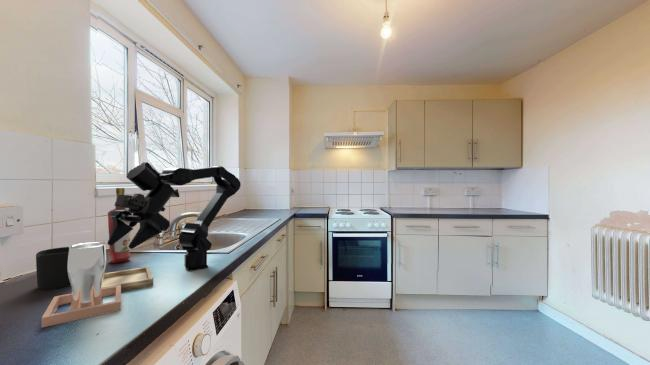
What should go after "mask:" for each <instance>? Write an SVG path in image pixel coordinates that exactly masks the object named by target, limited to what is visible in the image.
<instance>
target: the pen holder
mask: <svg viewBox="0 0 650 365" xmlns="http://www.w3.org/2000/svg"><path fill="white" fill-rule="evenodd" d="M69 247H70V246H62V247H54V248H49V249H43V250H39V251H37V253H36V255H35V263H36V264H35V266H36V268H35V269H36V283H37V286H36V287H37V288H38V289H39V290H45V291H46V290H47V291H49V290H56V289H61V288H65V287H71V286H70V282H69V277H68V270H67V263H68V253H69Z"/></svg>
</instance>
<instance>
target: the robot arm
mask: <svg viewBox="0 0 650 365" xmlns="http://www.w3.org/2000/svg"><path fill="white" fill-rule="evenodd" d="M125 177H126V179H128V180H129V181H130V182H131V183H132V184H133V185H134V186H136V187H137V188H139V189H140V190H141V191H143V192H147V191H149V192H148V193H147V194H146V195H144V194H142V193H134V194H133V195H130V194H124V195H118V197H117V196H116V198H117V200H116V199H115V203H114V206H115V207H116V206H117V207H119V206H120V207H124V208H126V209H128V211H129V212H130V213H129V212H128V211H126V210H115V211H114V212H113V213H112V214H111V215H110V217H112V218H111V220H112V221H113V223H114V227H113V230H112V233H111V235H110V238H109V237H108V240H107V245H108V246H109V245H110V246H111V245H113V244H114V243H116V242H117V241H118V240H120V239H121V238H122V237H123V236H125V235H126V234H127V233H129V232H130V231H133V230H134V227H136V226H137V224H138V223H139V229H138V230H137V232H136V233H135V235H134V237H133V238H132V240H130V245H129V246H128V247H129V248H130V250H133V249H135V248H136V247H138V246H139V245H142V244H143V243H144V242H146V241H148V240H150V239H151V238H153V237H155V236H156V235H159V234H162V233H163V232H167V231H168V229H169V228H170V226H171V222H170V220H168V219H167V218H166V217H165V216H164V215H162V214H161V213H160V212H165V210H166V208H165V206H166V204H167V203H168V202H169V201H170V200H171V198H179V197H180V193H179V188H173V186H186V185H188V184H190V183H192V182H193V181H195V180H202V179H208V178H213V182H214V183H215V184H216V187H215V188H216V191H215V194H213V196H212V198H211V199H210V201H209V202H208V203H207V205H206V206H205V208H204V209H203V210H202V212H201V213H200V214H199V216H198V218H196V220H195V221H194V222H187V223H185V225H184V227H183V228H182V229H181V230H179V233H180V234H179V236H178V242H179V244H180V245H181V248H182V250H183V251H186V254H185V253H184V258H183V259H184V260H183V261H184V263H183V265H184V267H185V268H186V270H187V271H194V270H200V269H205V268H209V265H208V264H207V263H208V251H210V250H211V248H212V244H213V243H212V242H211V241H209V239H208V236H209V227H210V226H211V225H212V224H213V221H214V220H215V218H216V217H217V215H218V213H219V212H220V211H221V209H223V206H224V204H225V203H226V202H227V200H228V199H229V198H231V197H233V196H234V195H236V193H237V192H238V191H239V190H240V188H241V186H242V184H241V181H240V179H239V178H238V177H236V175H234V174H233V173H231V172H230V171H228V170H227V169H226V168H225V167H224V166H221V165H215V166H214V165H213V166H209V167H200V168H199V167H198V168H187V167H186V168H183V167H174V168H173V167H170V168H169V167H167V168H164V169H162V171H161V172H158V171H157V170H156V169H155V168H154V167H153V166H152V165H151V164H150V163H149V162H148V161H147V162H144V161H143V162H142V163H141V164H139V165H137V166H135V167H133V168H132V169H130V170H129V171H128V173H127V174H126V176H125ZM131 213H132V214H131Z"/></svg>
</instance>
